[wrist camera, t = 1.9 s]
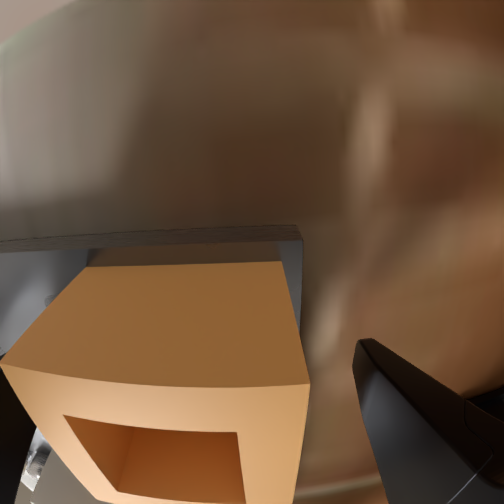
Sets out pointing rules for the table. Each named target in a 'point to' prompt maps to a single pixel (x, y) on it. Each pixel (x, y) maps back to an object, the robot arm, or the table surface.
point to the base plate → (126, 254)
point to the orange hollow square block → (170, 383)
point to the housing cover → (60, 485)
